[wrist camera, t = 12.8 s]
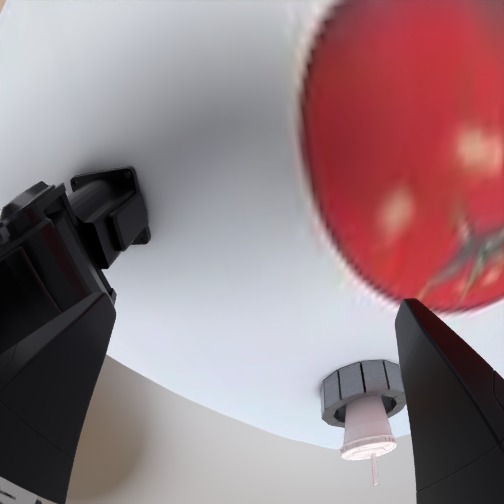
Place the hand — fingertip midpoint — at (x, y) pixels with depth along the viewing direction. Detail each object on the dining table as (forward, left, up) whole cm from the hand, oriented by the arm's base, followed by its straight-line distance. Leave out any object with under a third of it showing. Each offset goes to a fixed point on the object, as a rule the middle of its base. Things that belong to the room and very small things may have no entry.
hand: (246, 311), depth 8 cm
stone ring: (+11, -26, -13) cm, 31 cm away
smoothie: (+11, -26, -13) cm, 31 cm away
